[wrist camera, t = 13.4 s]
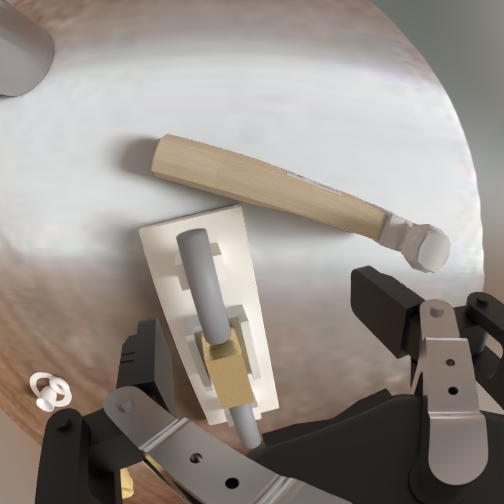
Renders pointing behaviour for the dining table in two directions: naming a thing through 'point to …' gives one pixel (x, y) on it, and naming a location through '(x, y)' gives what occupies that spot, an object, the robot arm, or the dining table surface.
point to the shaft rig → (212, 306)
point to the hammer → (296, 198)
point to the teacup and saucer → (50, 391)
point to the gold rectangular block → (228, 371)
